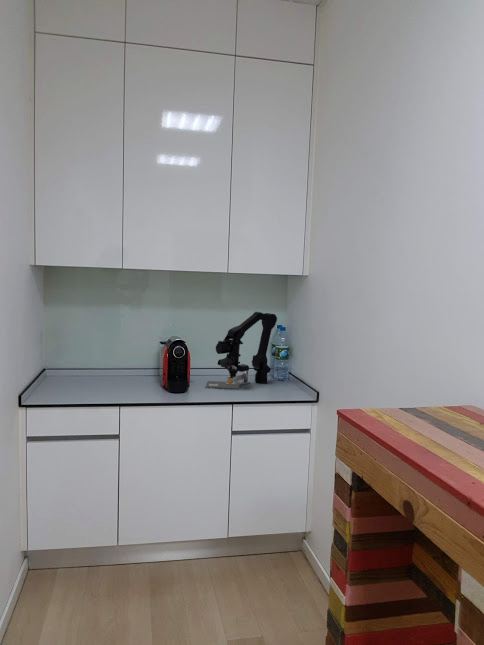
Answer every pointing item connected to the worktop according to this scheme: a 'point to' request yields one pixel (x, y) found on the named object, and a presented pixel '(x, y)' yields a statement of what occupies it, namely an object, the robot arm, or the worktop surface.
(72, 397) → the worktop surface
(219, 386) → the board
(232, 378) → the swing arm
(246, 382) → the base
